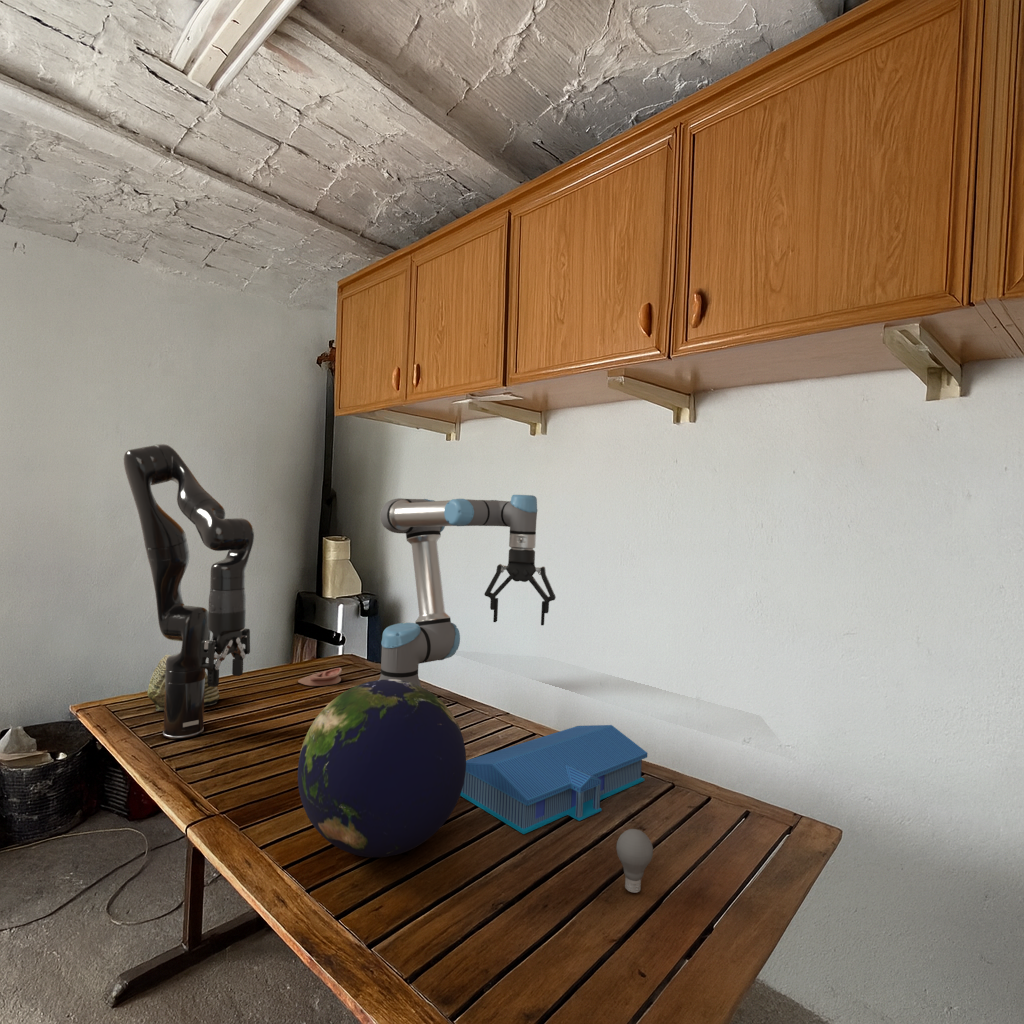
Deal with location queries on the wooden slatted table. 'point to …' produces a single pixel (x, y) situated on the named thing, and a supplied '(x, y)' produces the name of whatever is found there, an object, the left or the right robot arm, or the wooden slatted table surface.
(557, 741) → the model building
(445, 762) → the globe
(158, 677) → the fossil
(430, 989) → the wooden slatted table surface
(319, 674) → the anatomical model
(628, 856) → the light bulb
